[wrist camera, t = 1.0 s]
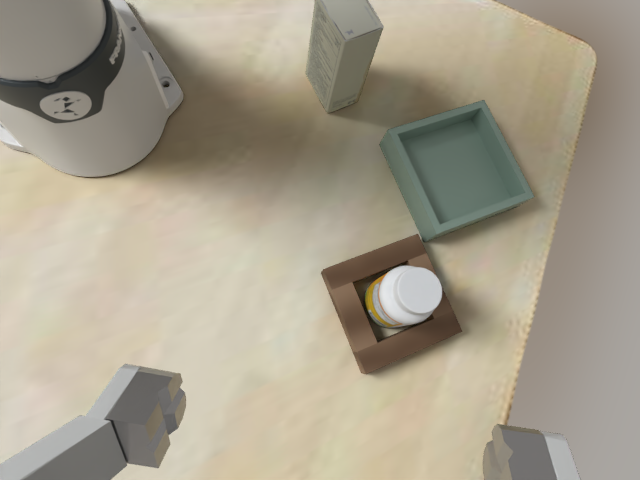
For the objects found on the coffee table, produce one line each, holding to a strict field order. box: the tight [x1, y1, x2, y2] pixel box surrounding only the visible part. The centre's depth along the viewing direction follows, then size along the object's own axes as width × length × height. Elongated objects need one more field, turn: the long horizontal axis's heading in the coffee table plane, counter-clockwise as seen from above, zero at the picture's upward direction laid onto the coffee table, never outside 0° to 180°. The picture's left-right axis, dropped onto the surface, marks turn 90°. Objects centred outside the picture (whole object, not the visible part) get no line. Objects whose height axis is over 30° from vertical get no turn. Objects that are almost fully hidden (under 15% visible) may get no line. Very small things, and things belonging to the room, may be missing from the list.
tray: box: [379, 100, 534, 242], centre depth 49 cm, size 13×13×4 cm
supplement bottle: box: [364, 266, 442, 328], centre depth 41 cm, size 5×5×10 cm
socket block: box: [321, 234, 462, 374], centre depth 45 cm, size 11×11×2 cm
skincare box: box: [306, 0, 383, 113], centre depth 45 cm, size 6×4×12 cm
